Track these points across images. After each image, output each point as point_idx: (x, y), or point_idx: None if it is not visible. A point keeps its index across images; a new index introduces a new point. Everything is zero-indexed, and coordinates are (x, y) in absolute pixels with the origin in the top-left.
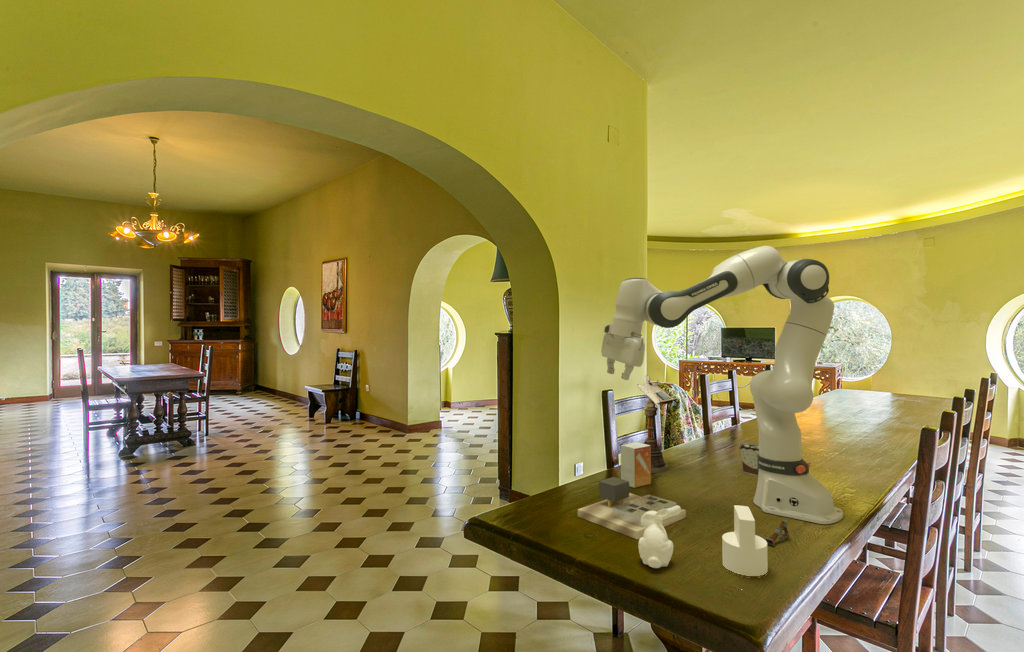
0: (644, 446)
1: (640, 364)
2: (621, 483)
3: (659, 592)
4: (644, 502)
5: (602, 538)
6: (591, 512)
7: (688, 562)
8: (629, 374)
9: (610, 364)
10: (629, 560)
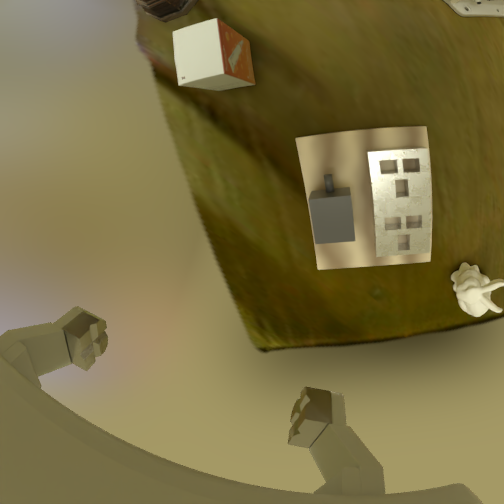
0: (216, 37)
1: (467, 502)
2: (352, 219)
3: (488, 319)
4: (394, 195)
5: (394, 286)
6: (340, 262)
7: (492, 255)
8: (344, 425)
9: (43, 357)
10: (447, 300)
